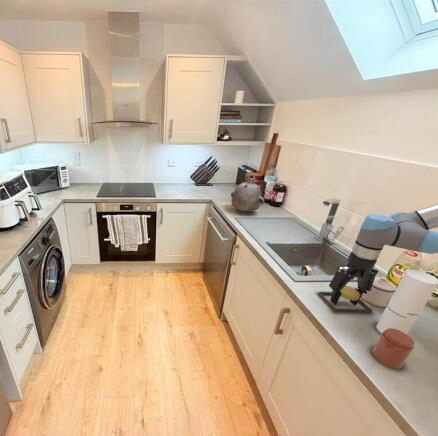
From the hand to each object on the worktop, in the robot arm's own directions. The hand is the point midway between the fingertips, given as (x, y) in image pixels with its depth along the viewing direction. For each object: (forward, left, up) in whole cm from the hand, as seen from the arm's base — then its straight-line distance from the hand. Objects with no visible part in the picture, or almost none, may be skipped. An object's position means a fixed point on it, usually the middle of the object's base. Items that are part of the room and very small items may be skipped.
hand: (342, 302), depth 96 cm
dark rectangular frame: (0, 0, -1) cm, 1 cm away
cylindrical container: (-6, +14, -1) cm, 15 cm away
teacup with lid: (-15, -4, -1) cm, 16 cm away
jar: (+4, +24, -1) cm, 24 cm away
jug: (+4, -102, -1) cm, 102 cm away
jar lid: (0, 0, +6) cm, 6 cm away
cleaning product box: (-9, -123, -1) cm, 123 cm away
